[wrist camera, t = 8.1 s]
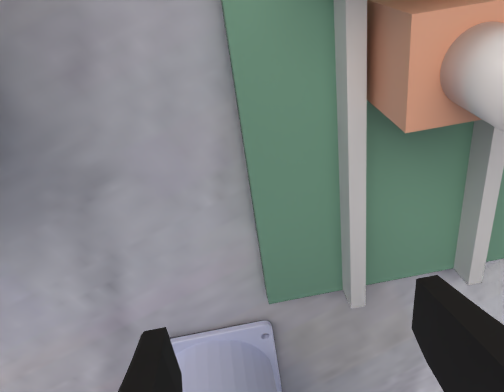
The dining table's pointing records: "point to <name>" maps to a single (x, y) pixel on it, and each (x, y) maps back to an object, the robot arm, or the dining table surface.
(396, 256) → the pitch board
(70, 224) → the dining table surface
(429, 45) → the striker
